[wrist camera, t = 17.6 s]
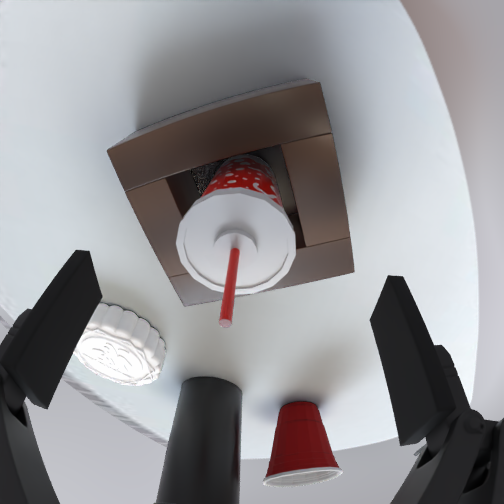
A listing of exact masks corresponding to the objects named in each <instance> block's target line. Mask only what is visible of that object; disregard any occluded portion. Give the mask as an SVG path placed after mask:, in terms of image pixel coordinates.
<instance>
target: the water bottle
mask: <svg viewBox="0 0 504 504" xmlns="http://www.w3.org/2000/svg"><path fill="white" fill-rule="evenodd" d="M241 418H242V392H241V390H240V389H239V388H238V387H237V386H236V385H234V384H232V383H230V382H228V381H226V380H223V379H219V378H213V377H196V378H191V379H189V380H187V381H185V382H184V383H183V384H182V387H181V391H180V396H179V400H178V404H177V408H176V413H175V417H174V421H173V426H172V430H171V434H170V437H169V441H168V447H167V451H166V456H165V462H164V466H163V471H162V476H161V481H160V485H159V491H158V495H157V500H156V503H154V504H239V491H240V454H241Z"/></svg>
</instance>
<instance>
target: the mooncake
mask: <svg viewBox="0 0 504 504" xmlns="http://www.w3.org/2000/svg"><path fill="white" fill-rule="evenodd" d="M164 347H165V343H164V341H163V340H162V339H161V338H159V333H158V331H157V330H156V329H154V328H151V327H150V324H149V323H148V322H147V321H146V320H144V319H142V318H138V317H137V315H136V314H135V313H133V312H131V311H124V310H123V309H122V308H121V307H119V306H116V305H113V306H110V307H109V306H108V305H106V304H104V303H100V304H98V306H97V308H96V310H95V311H94V313H93V315H92V317H91V319H90V321H89V323H88V325H87V326H86V328H85V330H84V332H83V334H82V336H81V338H80V340H79V342H78V344H77V346H76V348H75V350H74V352H73V354H74V355H76V356H77V357H78V359H79V361H80V362H81V363H83V364H84V366H85V367H87V368H89V369H90V370H91V371H93V372H94V373H95V374H96V375H99V376H101V377H103V378H106V379H111V380H112V381H114V382H116V383H120V384H122V385H125V384H126V385H134V386H136V385H138V386H141V385H144V384H145V383H146V384H150V383H152V382H153V380H156V379H158V378H159V376H160V372H161V371H162V367H163V363H164V360H165V356H166V350H165V349H164Z"/></svg>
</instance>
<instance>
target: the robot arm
mask: <svg viewBox="0 0 504 504" xmlns="http://www.w3.org/2000/svg"><path fill="white" fill-rule="evenodd" d="M101 299H102V294H101V291H100V287H99V284H98V280H97V277H96V273H95V270H94V266H93V262H92V259H91V255H90V251H84V250H75V252H74V253H73V254H72V256H71V257H70V258H69V259H68V261H67V262H66V263H65V264H64V266H63V267H62V268H61V270H60V271H59V272H58V274H57V275H56V276H55V278H54V279H53V280H52V282H51V283H50V285H49V286H48V287H47V289H46V290H45V291H44V293H43V294H42V296H41V297H40V299H39V300H38V301H37V303H36V304H35V306H34V307H33V309H27V310H25V311H24V312H23V313H22V314H21V315H20V316H19V317H18V318H17V320H16V321H15V323H14V324H13V327H11V329H10V330H9V332H8V335H6V337H5V338H4V340H3V341H2V343H1V345H0V504H60V503H59V500H58V498H57V496H56V494H55V491H54V489H53V486H52V484H51V481H50V479H49V476H48V474H47V471H46V468H45V466H44V463H43V460H42V457H41V454H40V451H39V448H38V445H37V442H36V438H35V435H34V432H33V428H32V425H31V421H30V417H29V413H28V409H27V406H26V404H25V402H24V400H25V398H26V396H27V397H28V399H30V401H31V402H32V403H33V404H34V405H37V406H39V407H42V408H44V409H48V407H49V404H50V402H51V400H52V397H53V395H54V393H55V390H56V388H57V386H58V384H59V382H60V379H61V377H62V375H63V373H64V371H65V369H66V367H67V364H68V362H69V360H70V358H71V356H72V354H73V352H74V350H75V348H76V346H77V344H78V342H79V340H80V338H81V336H82V334H83V332H84V330H85V328H86V326H87V325H88V323H89V321H90V319H91V317H92V315H93V313H94V311H95V310H96V308H97V306H98V304H99V302H100V301H101ZM370 323H371V326H372V330H373V333H374V337H375V340H376V344H377V347H378V351H379V355H380V359H381V362H382V366H383V370H384V374H385V378H386V382H387V386H388V390H389V395H390V399H391V403H392V408H393V412H394V417H395V422H396V426H397V431H398V436H399V441H400V446H404V445H410V444H416V443H418V442H420V441H421V440H422V439H423V438H424V437H426V441H427V444H425V445H424V446H423V447H422V448H420V449H419V450H418V451H417V452H416V453H415V454H414V455H415V456H417V455H418V454H419V453H420V455H419V457H418V458H417V460H416V462H415V464H414V466H413V467H412V469H411V471H410V473H409V474H408V476H407V478H406V479H405V481H404V483H403V484H402V486H401V488H400V489H399V491H398V492H397V494H396V496H395V497H394V499H393V500H392V502H391V503H390V504H504V418H503V419H502V420H501V421H500V422H498V421H490V420H484V418H483V417H482V415H481V414H480V413H479V412H477V411H475V410H472V409H471V408H470V406H469V403H468V400H467V397H466V395H465V392H464V389H463V386H462V384H461V381H460V378H459V376H458V373H457V371H456V368H454V363H453V361H452V358H451V356H450V354H449V353H448V351H447V350H446V349H445V348H444V347H443V346H442V345H434V344H433V342H432V339H431V337H430V335H429V332H428V330H427V327H426V325H425V323H424V321H423V318H422V316H421V314H420V312H419V309H418V307H417V305H416V303H415V301H414V298H413V296H412V294H411V292H410V290H409V288H408V286H407V284H406V282H405V280H404V277H403V276H390V275H388V277H387V279H386V282H385V284H384V287H383V289H382V292H381V294H380V297H379V299H378V302H377V304H376V306H375V309H374V311H373V314H372V316H371V318H370Z"/></svg>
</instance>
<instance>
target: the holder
mask: <svg viewBox="0 0 504 504" xmlns="http://www.w3.org/2000/svg"><path fill="white" fill-rule="evenodd" d="M331 132H332V130H331V126H330V121H329V117H328V113H327V108H326V104H325V100H324V96H323V92H322V88H321V84H320V82H317V81H314V80H311V79H307V78H306V79H301V80H296V81H292V82H287V83H283V84H278V85H274V86H270V87H266V88H262V89H259V90H255V91H251V92H247V93H244V94H240V95H237V96H233V97H230V98H227V99H223V100H220V101H217V102H214V103H211V104H208V105H205V106H202V107H199V108H196V109H193V110H190V111H187V112H184V113H181V114H179V115H176V116H173V117H171V118H168V119H165V120H163V121H160V122H158V123H155V124H153V125H150V126H148V127H145V128H143V129H140V130H138V131H136V132H134V133H132V134H131V135H129V136H128V137H126V138H124V139H123V140H121V141H120V142H118V143H117V144H115V145H114V146H112V147H111V148H109V149H108V150H107V153H108V155H109V157H110V160H111V162H112V164H113V167H114V169H115V171H116V173H117V175H118V178H119V180H120V182H121V184H122V186H123V189H124V191H126V192H125V193H126V196H127V198H128V200H129V202H130V204H131V206H132V208H133V210H134V212H135V214H136V216H137V218H138V220H139V222H140V224H141V226H142V228H143V230H144V232H145V234H146V236H147V238H148V240H149V242H150V244H151V246H152V248H153V250H154V252H155V254H156V256H157V258H158V260H159V261H160V263H161V265H162V267H163V269H164V271H165V273H166V274H167V276H168V278H169V280H170V282H171V283H172V285H173V287H174V289H175V291H176V292H177V294H178V296H179V298H180V300H181V301H182V303H183V305H184V306H190V305H196V304H202V303H207V302H213V301H218V300H223V294H224V293H223V292H219V291H215V290H211V289H210V288H208V287H206V286H205V285H203V284H202V283H200V282H198V281H197V280H195V279H194V278H193V277H192V276H191V275H190V273H189V272H188V271H187V270H186V268H185V267H184V266H183V265H182V263H181V261H180V257H179V254H178V250H177V246H176V240H177V235H178V229H179V224H180V222H181V220H182V219H183V217H184V216H185V214H186V213H187V212H188V210H189V209H190V208H191V206H192V205H193V204H194V202H195V201H196V200H198V199H200V198H201V197H200V194H199V192H198V189H197V187H196V184H195V181H194V179H193V176H192V174H191V171H190V169H193V168H196V167H199V166H202V165H206V164H209V163H212V162H216V161H219V160H222V159H226V158H229V157H233V156H237V155H240V154H244V153H248V152H251V151H255V150H259V149H263V148H267V147H271V146H275V145H279V144H280V146H281V149H282V153H283V157H284V160H285V164H286V168H287V172H288V175H289V179H290V183H291V187H292V191H293V195H294V199H295V203H296V207H297V211H298V213H296V214H291V215H287V216H288V218H289V220H290V222H291V224H292V225H293V230H294V232H295V244H296V256H295V258H294V260H293V263H292V265H291V267H290V269H289V271H288V273H287V274H286V275H285V276H284V277H283V278H282V279H280V280H279V281H278V282H277V283H276V284H275V285H274V286H272V287H269V288H267V289H264V290H262V291H259V292H257V293H260V292H265V291H270V290H275V289H280V288H285V287H289V286H294V285H299V284H304V283H308V282H313V281H318V280H322V279H327V278H331V277H336V276H340V275H345V274H349V273H353V272H354V262H353V253H352V246H351V238H350V231H349V224H348V217H347V210H346V204H345V198H344V192H343V186H342V180H341V175H340V169H339V164H338V159H337V154H336V149H335V144H334V139H333V135H332V133H331ZM254 294H255V293H254ZM245 295H250V294H238V295H235V297H239V296H245Z"/></svg>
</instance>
